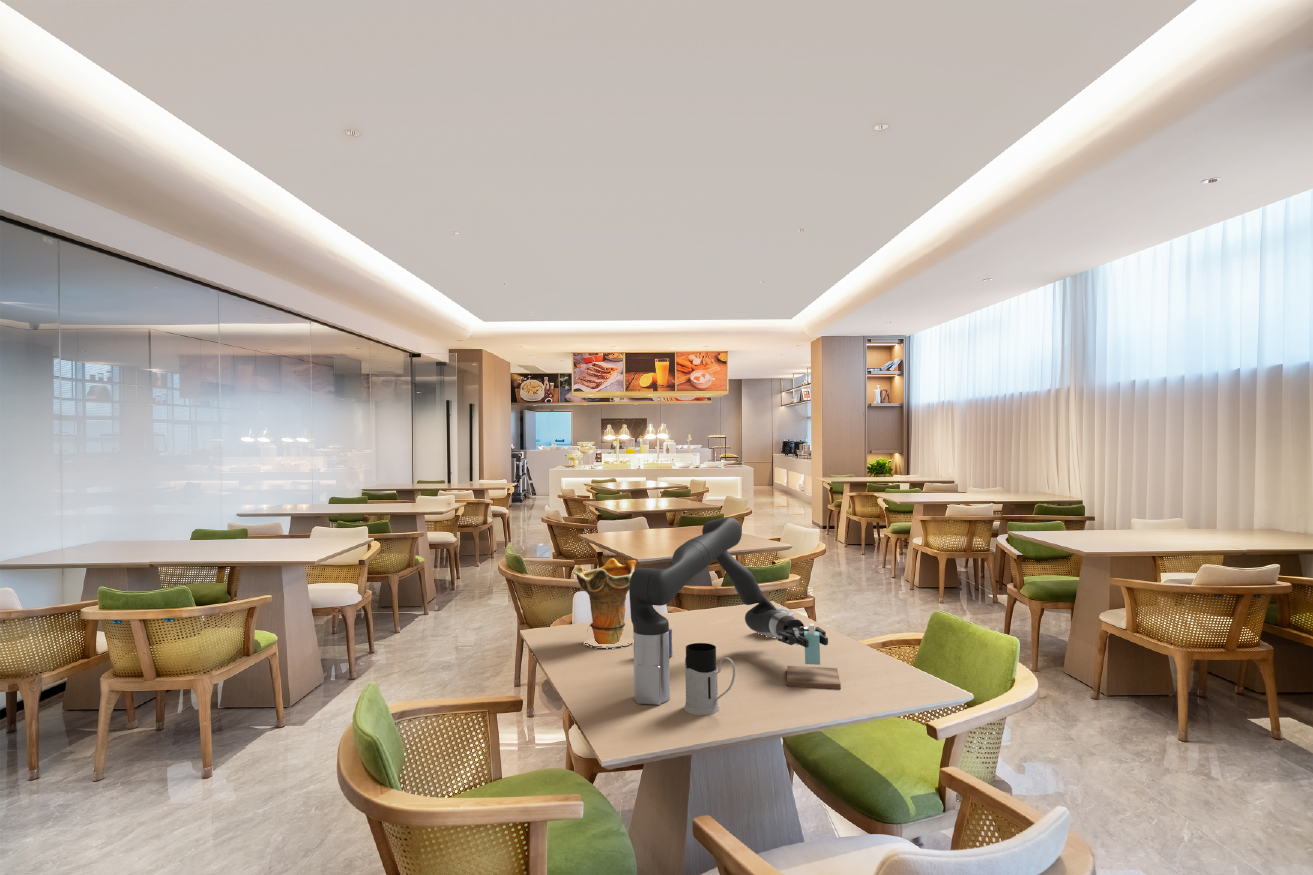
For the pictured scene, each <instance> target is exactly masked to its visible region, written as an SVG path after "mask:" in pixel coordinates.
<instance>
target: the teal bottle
mask: <svg viewBox="0 0 1313 875" xmlns="http://www.w3.org/2000/svg"><path fill="white" fill-rule="evenodd" d="M808 628H809V631H804V637H805V638H806V639H808V642H809V647H808V648H805V647H804V664H805V665H815V666H816V665H819V666H821V649H820V648H821V647H820V646H821V645H820V644H821V643H820V638H819V632H815V631H814V630H815V623H811V622H809V623H808Z"/></svg>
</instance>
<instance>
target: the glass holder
mask: <svg viewBox="0 0 1313 875" xmlns="http://www.w3.org/2000/svg"><path fill="white" fill-rule="evenodd" d="M724 660H727V661H729V662H730V663H731V666H732V677H731V682H730V684H729V686H728V688H727V689H726V690H725V691H724V692H723V693H721V694H720V695H718V674H719V673H721V672H722V671H721V670H722V662H723V661H724ZM684 662H685V663H684V666H685V673H684V674H685V704H684V708H683V709H684V711H685V712H686V713H687V714H691V715H693V716H710V715H714V714H716V712H717V713H719V711H720V710H719V709H720V705H719V703H718V700H719V699H720V698H722V697H723V696H725V695H726V693H728V692H729V691H730V690H731V689H732V687H733V685H734V682H735V678H736V664H735V662H734V661H733V660H732V659H731V658H730V657H725V656H724V657H722V658H721V659H720V660H719V661H718V667H717V647H716V645H715V644H711V643H705V642H695V643H690V644H687V645H686V646H685V659H684Z"/></svg>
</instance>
